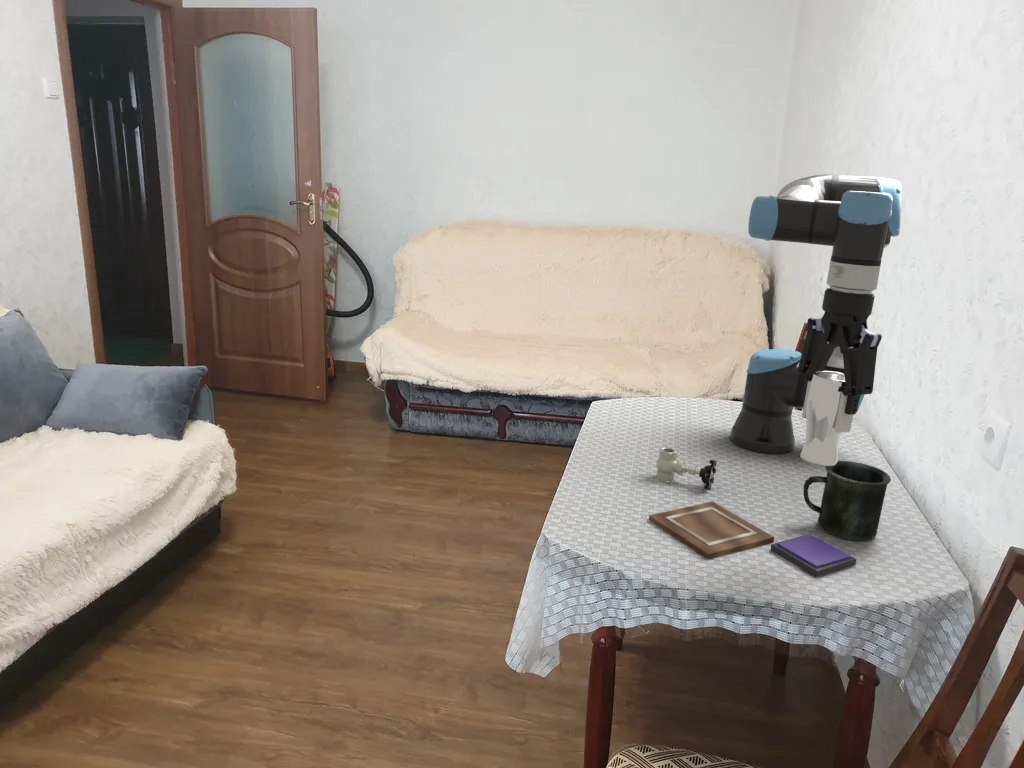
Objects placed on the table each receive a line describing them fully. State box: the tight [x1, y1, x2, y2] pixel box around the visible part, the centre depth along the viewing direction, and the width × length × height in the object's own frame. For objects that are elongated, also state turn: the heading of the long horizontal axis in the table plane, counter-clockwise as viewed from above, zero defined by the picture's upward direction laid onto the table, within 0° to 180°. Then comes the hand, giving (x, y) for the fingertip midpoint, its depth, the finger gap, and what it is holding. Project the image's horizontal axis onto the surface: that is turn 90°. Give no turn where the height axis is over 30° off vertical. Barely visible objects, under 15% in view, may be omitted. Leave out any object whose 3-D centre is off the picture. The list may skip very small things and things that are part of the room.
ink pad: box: [769, 533, 858, 578], centre depth 135 cm, size 10×10×2 cm
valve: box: [655, 446, 718, 491], centre depth 163 cm, size 7×7×12 cm
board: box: [648, 501, 775, 560], centre depth 143 cm, size 16×16×1 cm
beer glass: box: [799, 371, 846, 467], centre depth 131 cm, size 7×7×15 cm
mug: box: [803, 460, 892, 542], centre depth 146 cm, size 11×15×12 cm
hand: (825, 423), depth 131 cm, fingers closed on beer glass, 7 cm apart
